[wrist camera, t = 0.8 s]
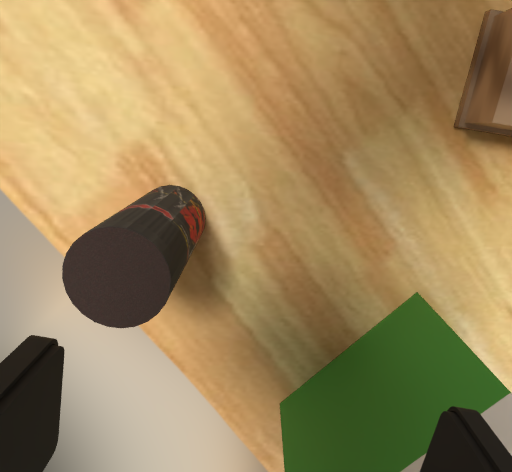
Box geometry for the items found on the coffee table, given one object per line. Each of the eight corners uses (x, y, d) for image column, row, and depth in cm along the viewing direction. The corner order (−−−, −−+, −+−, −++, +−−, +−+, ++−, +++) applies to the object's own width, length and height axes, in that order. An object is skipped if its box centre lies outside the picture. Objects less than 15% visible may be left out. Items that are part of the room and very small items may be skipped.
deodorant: (145, 177, 36) (70, 214, 22) (212, 195, 37) (181, 242, 22) (133, 240, 38) (55, 313, 23) (197, 256, 38) (159, 338, 24)
